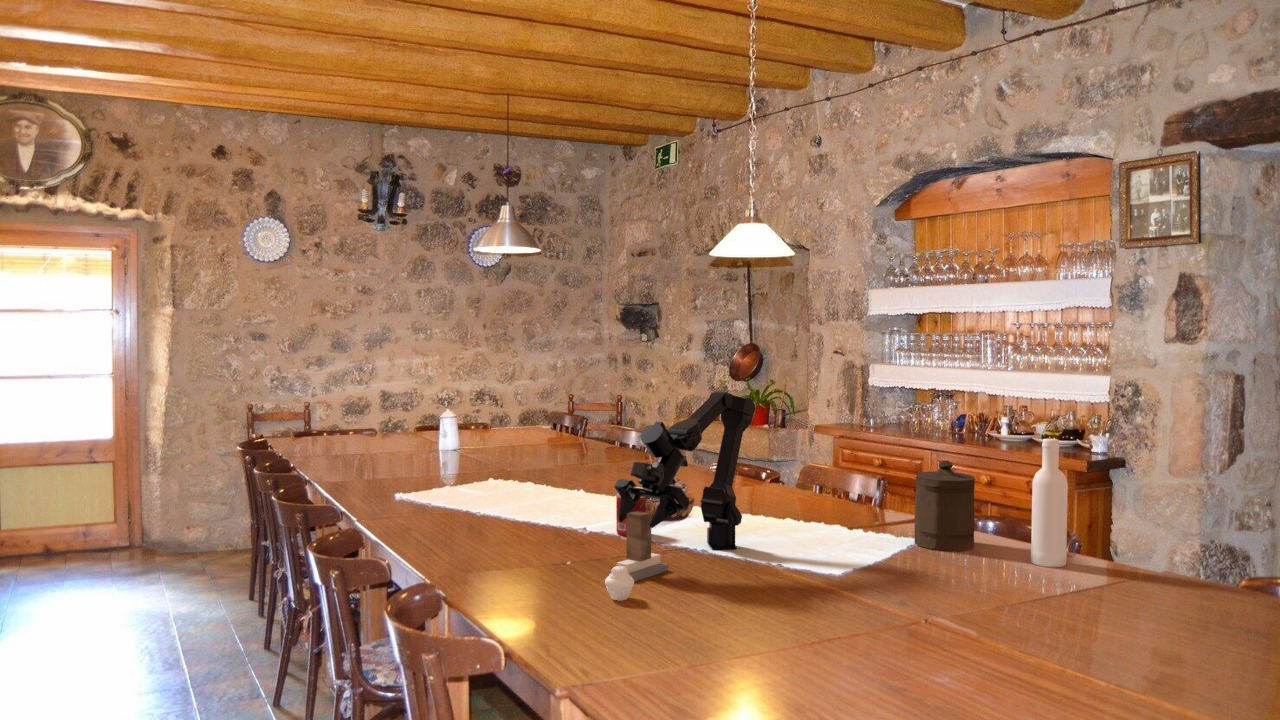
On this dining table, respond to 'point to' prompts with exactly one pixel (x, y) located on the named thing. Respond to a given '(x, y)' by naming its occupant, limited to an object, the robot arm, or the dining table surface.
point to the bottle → (1049, 510)
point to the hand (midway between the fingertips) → (635, 523)
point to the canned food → (639, 507)
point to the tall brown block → (638, 536)
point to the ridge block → (644, 567)
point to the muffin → (619, 583)
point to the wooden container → (944, 509)
